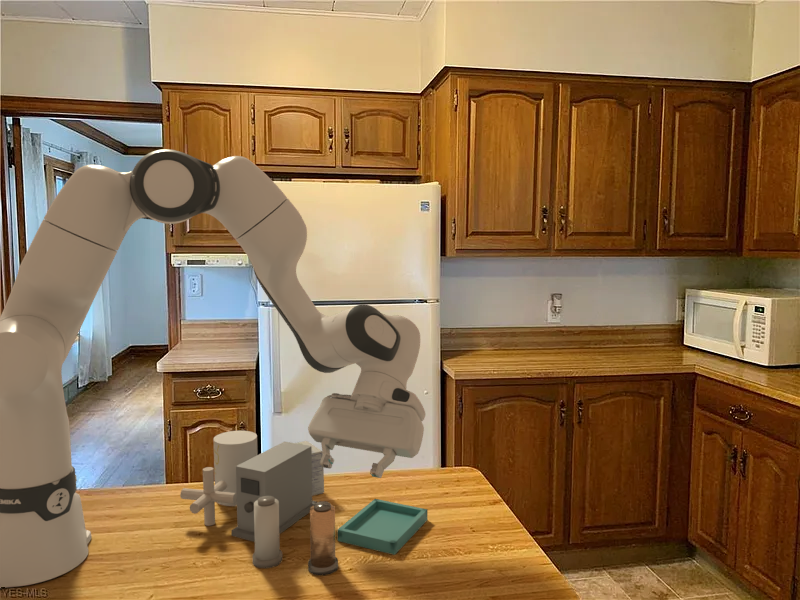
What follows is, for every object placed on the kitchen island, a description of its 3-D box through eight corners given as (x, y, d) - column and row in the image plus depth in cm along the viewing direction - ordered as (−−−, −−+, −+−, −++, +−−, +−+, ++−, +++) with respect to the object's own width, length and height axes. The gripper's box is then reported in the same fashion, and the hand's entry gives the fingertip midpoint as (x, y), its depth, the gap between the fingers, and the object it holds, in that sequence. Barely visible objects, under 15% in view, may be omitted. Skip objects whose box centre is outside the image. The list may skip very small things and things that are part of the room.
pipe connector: (222, 539, 108) (220, 482, 106) (168, 533, 110) (166, 477, 108) (248, 513, 117) (247, 461, 116) (198, 508, 119) (196, 456, 118)
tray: (337, 540, 107) (337, 529, 107) (374, 508, 119) (374, 498, 119) (394, 554, 103) (394, 542, 102) (427, 520, 115) (427, 509, 115)
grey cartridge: (246, 564, 100) (244, 502, 99) (264, 550, 104) (263, 491, 103) (270, 571, 98) (269, 507, 97) (288, 557, 102) (287, 496, 101)
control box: (231, 535, 109) (229, 467, 107) (286, 499, 123) (285, 439, 122) (265, 544, 106) (263, 474, 105) (317, 506, 120) (316, 444, 119)
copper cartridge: (302, 571, 98) (301, 508, 97) (318, 557, 102) (317, 496, 101) (328, 578, 96) (327, 513, 95) (343, 563, 100) (343, 501, 99)
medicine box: (324, 493, 126) (324, 451, 125) (303, 498, 124) (303, 455, 123) (308, 480, 133) (307, 439, 132) (288, 484, 131) (287, 443, 130)
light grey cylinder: (226, 487, 129) (224, 429, 128) (264, 490, 128) (263, 431, 126) (207, 504, 121) (205, 442, 120) (248, 507, 120) (246, 445, 119)
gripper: (319, 383, 115) (288, 452, 107) (424, 396, 106) (399, 473, 99) (332, 401, 120) (304, 469, 112) (434, 415, 111) (410, 490, 103)
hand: (349, 471), depth 105 cm, fingers open, 8 cm apart
